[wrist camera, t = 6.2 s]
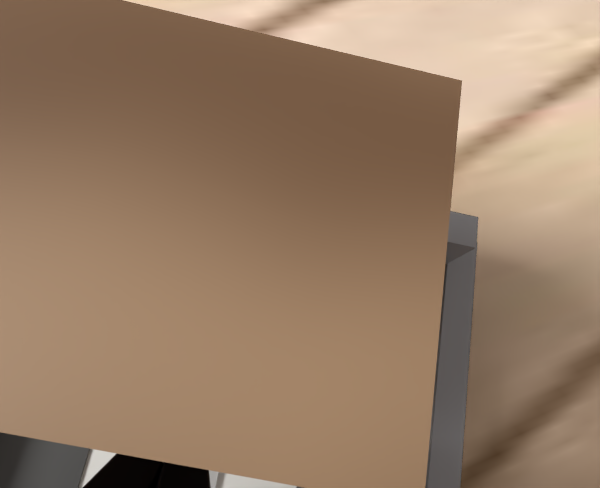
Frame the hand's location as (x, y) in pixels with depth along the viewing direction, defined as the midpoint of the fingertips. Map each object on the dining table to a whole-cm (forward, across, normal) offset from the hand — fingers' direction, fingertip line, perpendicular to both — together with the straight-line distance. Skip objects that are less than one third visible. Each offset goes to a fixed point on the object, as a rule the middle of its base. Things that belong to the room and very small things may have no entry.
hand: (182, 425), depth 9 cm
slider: (+6, 0, +2) cm, 7 cm away
